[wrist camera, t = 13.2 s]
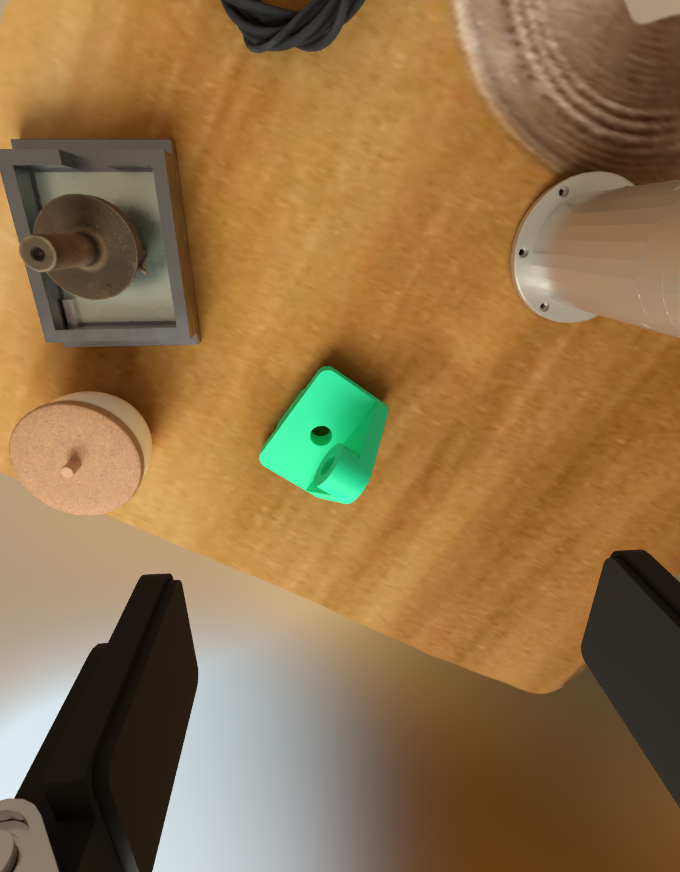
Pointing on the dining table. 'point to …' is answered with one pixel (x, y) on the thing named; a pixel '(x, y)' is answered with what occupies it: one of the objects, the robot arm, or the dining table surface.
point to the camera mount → (328, 438)
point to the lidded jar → (82, 452)
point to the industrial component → (85, 246)
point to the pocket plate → (150, 214)
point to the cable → (290, 23)
